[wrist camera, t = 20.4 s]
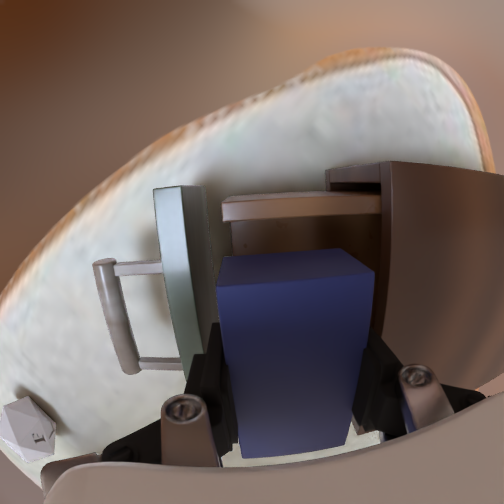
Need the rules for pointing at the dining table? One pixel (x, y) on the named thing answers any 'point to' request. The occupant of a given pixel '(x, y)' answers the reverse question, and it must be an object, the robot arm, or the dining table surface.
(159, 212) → the drawer
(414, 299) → the cabinet
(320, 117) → the dining table surface
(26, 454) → the die
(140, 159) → the dining table surface
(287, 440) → the tall navy block
